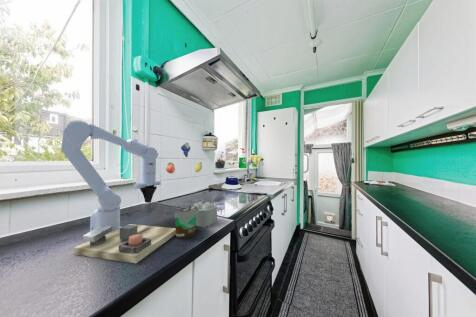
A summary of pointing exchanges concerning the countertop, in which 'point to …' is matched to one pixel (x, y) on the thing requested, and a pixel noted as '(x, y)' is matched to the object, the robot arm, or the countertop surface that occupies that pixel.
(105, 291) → the countertop surface
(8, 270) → the countertop surface
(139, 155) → the robot arm
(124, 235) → the slider knob
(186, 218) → the food container
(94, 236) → the rocker switch
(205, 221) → the lumpy-topped squat cylinder
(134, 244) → the push button
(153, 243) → the control board
